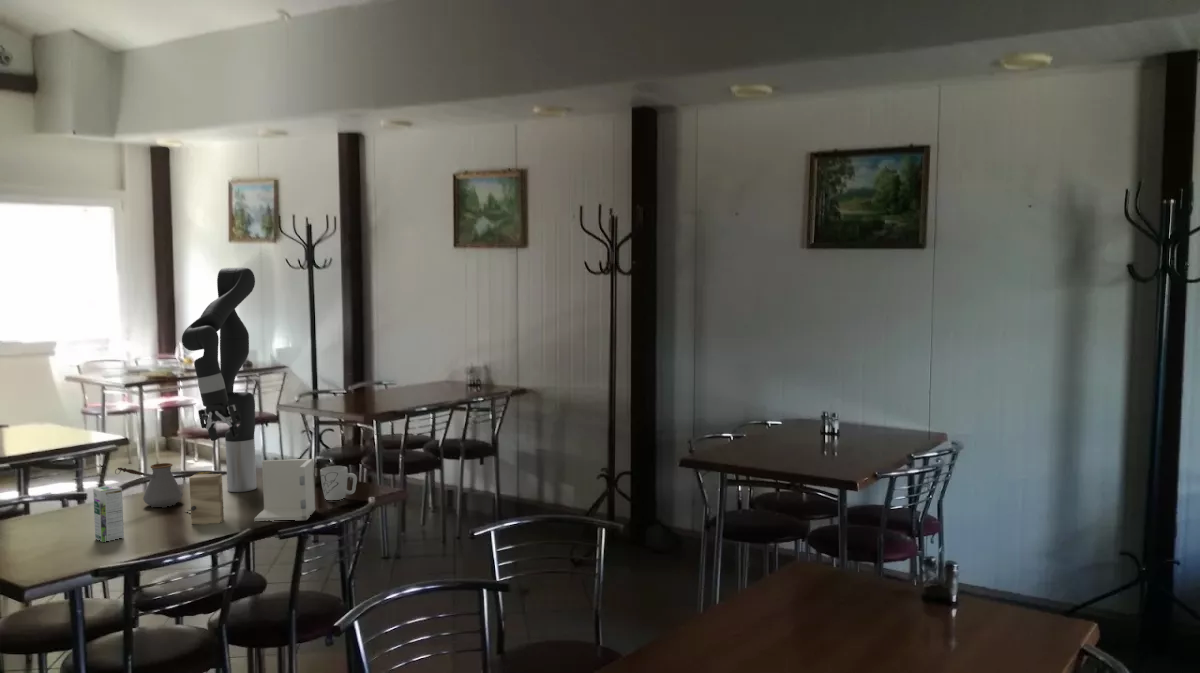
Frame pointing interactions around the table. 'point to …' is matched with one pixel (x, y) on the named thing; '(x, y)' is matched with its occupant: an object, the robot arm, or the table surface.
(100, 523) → the syrup box
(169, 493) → the coffee pot
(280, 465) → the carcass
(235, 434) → the robot arm
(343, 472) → the mug
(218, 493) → the door
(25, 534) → the table surface
